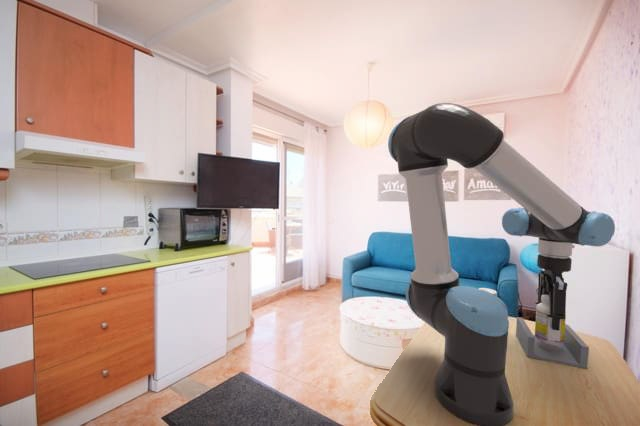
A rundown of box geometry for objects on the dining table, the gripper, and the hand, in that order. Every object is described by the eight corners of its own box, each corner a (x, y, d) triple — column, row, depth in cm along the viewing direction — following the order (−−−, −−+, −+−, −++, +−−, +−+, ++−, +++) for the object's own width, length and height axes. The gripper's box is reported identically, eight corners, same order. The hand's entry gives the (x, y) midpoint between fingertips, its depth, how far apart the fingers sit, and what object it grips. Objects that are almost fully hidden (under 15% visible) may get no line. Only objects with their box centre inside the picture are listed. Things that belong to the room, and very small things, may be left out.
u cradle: (527, 356, 80) (528, 336, 80) (515, 334, 93) (516, 316, 93) (587, 368, 75) (589, 347, 75) (566, 343, 88) (568, 324, 87)
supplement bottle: (562, 339, 85) (565, 296, 84) (565, 349, 79) (568, 303, 78) (533, 332, 88) (536, 291, 87) (534, 341, 83) (537, 298, 82)
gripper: (586, 264, 72) (579, 354, 73) (558, 250, 89) (553, 322, 91) (549, 261, 75) (543, 347, 76) (529, 248, 92) (524, 318, 94)
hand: (548, 333), depth 84 cm, fingers closed on supplement bottle, 7 cm apart
